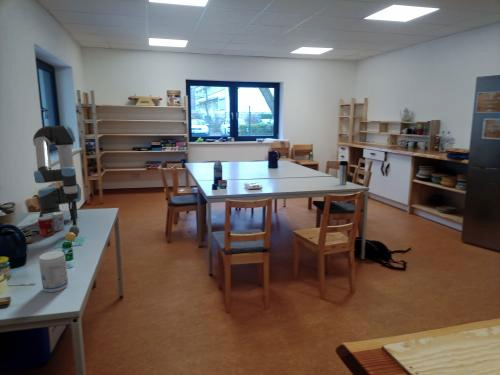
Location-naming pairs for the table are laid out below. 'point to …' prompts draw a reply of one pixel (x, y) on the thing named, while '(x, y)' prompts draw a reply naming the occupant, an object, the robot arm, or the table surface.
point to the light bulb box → (57, 220)
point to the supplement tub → (53, 271)
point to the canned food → (46, 226)
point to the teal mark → (77, 241)
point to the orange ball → (70, 236)
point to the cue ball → (74, 230)
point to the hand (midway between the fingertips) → (75, 229)
